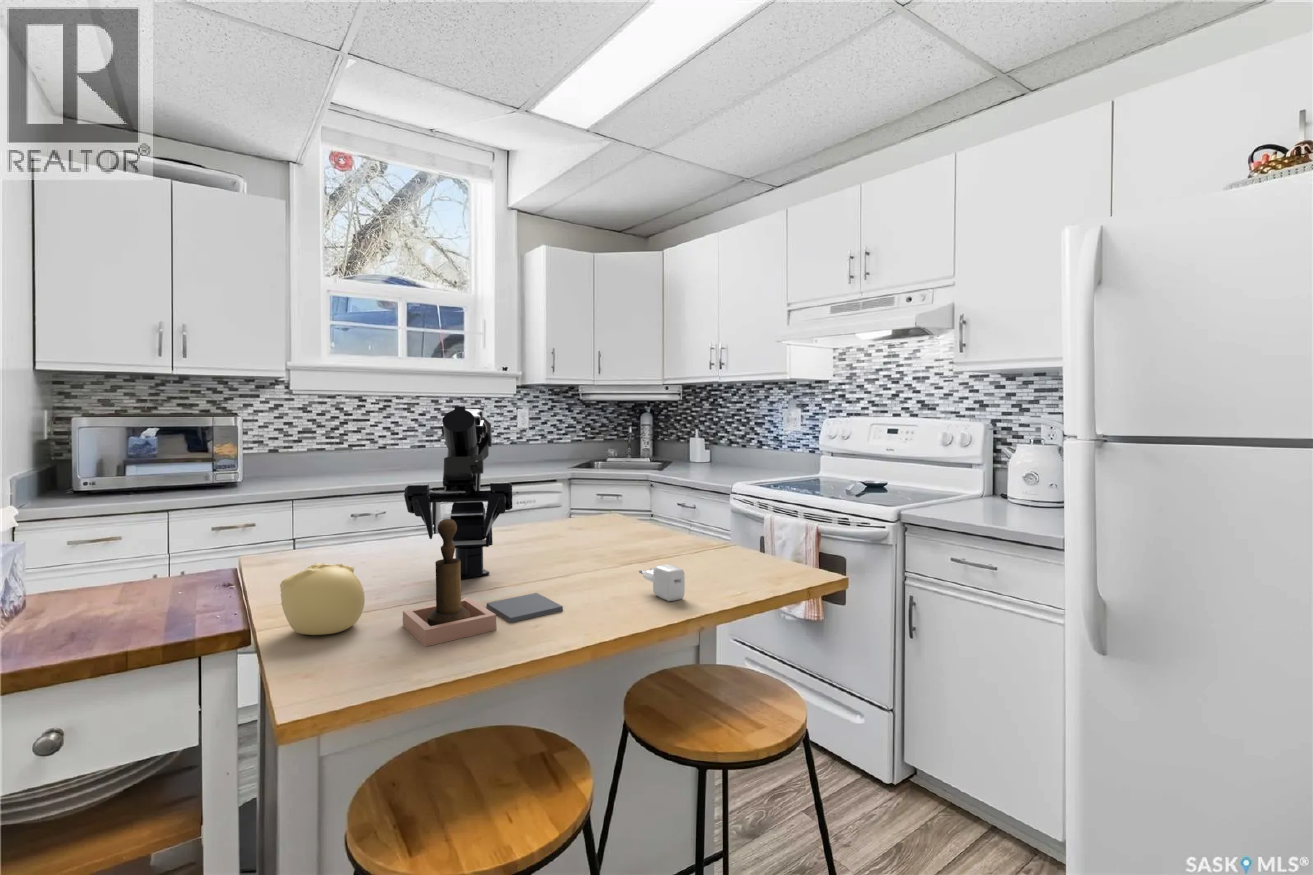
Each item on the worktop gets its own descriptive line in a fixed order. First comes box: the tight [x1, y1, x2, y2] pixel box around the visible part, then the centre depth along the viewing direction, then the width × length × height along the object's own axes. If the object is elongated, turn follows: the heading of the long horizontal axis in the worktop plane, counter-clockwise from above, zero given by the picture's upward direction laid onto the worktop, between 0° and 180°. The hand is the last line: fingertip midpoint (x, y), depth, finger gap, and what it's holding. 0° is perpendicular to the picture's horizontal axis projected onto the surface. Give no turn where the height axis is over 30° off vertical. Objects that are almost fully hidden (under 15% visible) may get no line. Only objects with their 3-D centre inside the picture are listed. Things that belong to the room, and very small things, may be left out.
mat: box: [485, 592, 564, 623], centre depth 113 cm, size 10×10×1 cm
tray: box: [402, 597, 497, 647], centre depth 104 cm, size 11×11×2 cm
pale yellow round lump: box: [279, 562, 366, 636], centre depth 103 cm, size 11×12×11 cm
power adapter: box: [638, 563, 686, 602], centre depth 122 cm, size 11×5×6 cm, turn 34°
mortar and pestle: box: [427, 518, 470, 626], centre depth 103 cm, size 7×6×18 cm
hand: (458, 536), depth 111 cm, fingers open, 9 cm apart
